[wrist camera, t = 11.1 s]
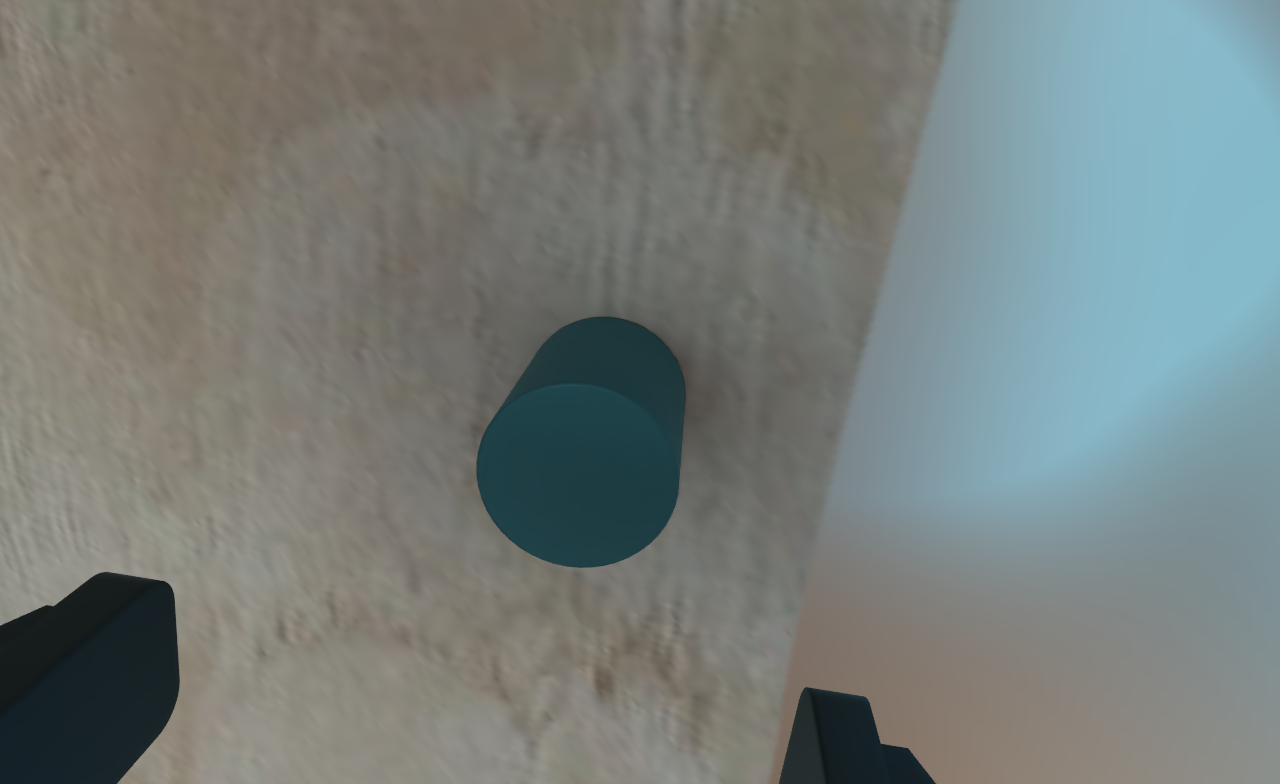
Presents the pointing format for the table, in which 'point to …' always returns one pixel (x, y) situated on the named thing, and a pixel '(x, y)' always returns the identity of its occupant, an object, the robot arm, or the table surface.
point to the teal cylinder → (587, 446)
